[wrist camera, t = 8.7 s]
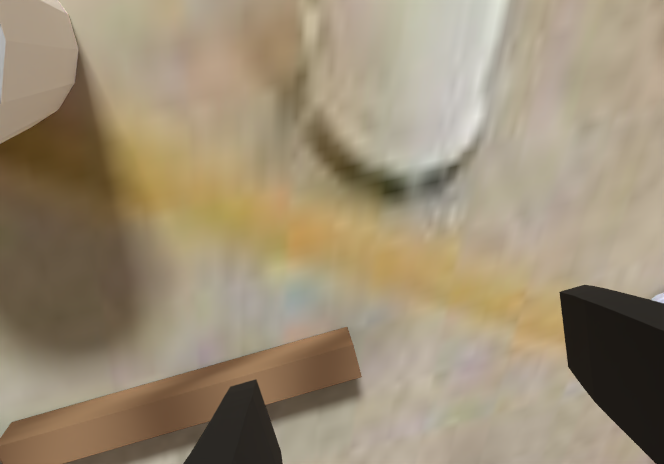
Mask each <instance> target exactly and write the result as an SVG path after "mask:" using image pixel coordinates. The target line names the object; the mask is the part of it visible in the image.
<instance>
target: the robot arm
mask: <svg viewBox="0 0 664 464" xmlns="http://www.w3.org/2000/svg"><path fill="white" fill-rule="evenodd" d="M560 300H561V308H562V317H563V326H564V334H565V343H566V351H567V360H568V367H569V369H570V370H571V371H572V373H573V374H574V375H575V377H576V378H577V379H578V381H579V382H580V384H581V385H582V386H583V388H584V389H585V390H586V391H587V393H588V394H589V395H590V396H591V398H592V399H593V400H594V402H595V403H596V404H597V405H598V406H599V407H600V408H601V409H602V410H603V411H604V412H605V413H606V414H607V415H608V416H609V417H610V418H611V419H612V420H613V421H614V422H615V423H616V424H617V425H618V426H619V427H620V428H621V429H622V430H623V431H624V432H625V433H626V434H627V435H628V436H629V437H630V438H631V439H632V440H633V441H634V442H635V443H636V444H637V445H638V446H639V447H640V448H641V449H642V450H643V451H644V452H645V453H646V454H647V455H648V456H649V457H650V458H651V459H652V460H653V461H654V462H655V463H656V464H664V293H661V294H658V295H656V296H654V297H653V298H652V299H651V300H649V299H645V298H641V297H637V296H633V295H629V294H625V293H621V292H617V291H613V290H609V289H605V288H600V287H595V286H589V285H582V286H579V287H575V288H572V289H568V290H565V291H561V292H560ZM184 464H283V463H282V456H281V450H280V447H279V444H278V441H277V438H276V435H275V433H274V430H273V427H272V424H271V421H270V418H269V415H268V412H267V409H266V406H265V403H264V400H263V397H262V394H261V391H260V388H259V385H258V382H257V379H255V380H252V381H248V382H245V383H241V384H238V385H234V386H231V387H230V388H229V389H228V391H227V393H226V394H225V396H224V398H223V399H222V401H221V403H220V405H219V406H218V408H217V410H216V412H215V413H214V415H213V417H212V419H211V420H210V422H209V424H208V425H207V427H206V429H205V431H204V432H203V434H202V435H201V437H200V439H199V440H198V442H197V444H196V445H195V447H194V449H193V450H192V452H191V453H190V455H189V456H188V458H187V459H186V461H185V462H184Z"/></svg>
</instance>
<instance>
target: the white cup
mask: <svg viewBox="0 0 664 464" xmlns="http://www.w3.org/2000/svg"><path fill="white" fill-rule="evenodd" d="M78 51H79V49H78V46H77V42H76V39H75V35H74V31H73V28H72V24H71V21H70V17H69V14H68V13H67V11H66V10H65V9H64V7H63V6H62V5H61V3H60V2H59V0H0V144H1V143H3V142H5V141H6V140H8V139H10V138H12V137H14V136H16V135H18V134H20V133H21V132H23V131H25V130H27V129H29V128H31V127H33V126H34V125H36V124H37V123H39V122H40V121H42V120H43V119H45V118H47V117H48V116H50V115H51V114H53V113H54V112H56V111H57V110H59V108H60V106H61V105H62V103H63V101H64V100H65V98H66V97H67V95H68V93H69V92H70V90H71V88H72V87H73V85H74V83H75V77H76V68H77V60H78Z"/></svg>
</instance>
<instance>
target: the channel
mask: <svg viewBox="0 0 664 464" xmlns="http://www.w3.org/2000/svg"><path fill="white" fill-rule="evenodd" d="M360 377H362V376H361V373H360V369H359V365H358V361H357V357H356V354H355V350H354V346H353V343H352V340H351V337H350V334H349V331H348V328H347V327H345V328H341V329H338V330H334V331H331V332H327V333H324V334H320V335H317V336H313V337H310V338H306V339H303V340H299V341H296V342H292V343H289V344H285V345H282V346H278V347H275V348H271V349H268V350H264V351H261V352H257V353H254V354H250V355H247V356H243V357H240V358H236V359H233V360H229V361H226V362H222V363H219V364H215V365H212V366H208V367H205V368H201V369H197V370H194V371H190V372H187V373H183V374H180V375H176V376H173V377H169V378H166V379H162V380H159V381H155V382H152V383H148V384H145V385H141V386H138V387H134V388H131V389H127V390H124V391H120V392H117V393H113V394H110V395H106V396H103V397H99V398H96V399H92V400H89V401H85V402H82V403H78V404H75V405H71V406H68V407H64V408H61V409H57V410H54V411H50V412H47V413H43V414H40V415H36V416H32V417H29V418H25V419H22V420H18V421H15V422H11V424H10V425H9V427H8V428H7V430H6V431H5V432H4V434H3V435H2V437H1V438H0V460H1V462H2V464H63V463H67V462H70V461H74V460H77V459H81V458H84V457H87V456H91V455H94V454H98V453H101V452H105V451H108V450H112V449H115V448H119V447H122V446H125V445H129V444H132V443H136V442H139V441H143V440H146V439H150V438H153V437H156V436H160V435H163V434H167V433H170V432H174V431H177V430H181V429H184V428H187V427H191V426H194V425H198V424H201V423H205V422H208V421H210V420H211V419H212V417H213V415H214V413H215V412H216V410H217V408H218V406H219V405H220V403H221V401H222V399H223V398H224V396H225V394H226V393H227V391H228V389H229V388H230V387H231V386H234V385H238V384H241V383H245V382H248V381H252V380H255V379H257V382H258V385H259V388H260V391H261V394H262V397H263V400H264V403H265V405H267V404H270V403H274V402H277V401H281V400H284V399H287V398H291V397H294V396H298V395H301V394H305V393H308V392H312V391H315V390H319V389H322V388H325V387H329V386H332V385H336V384H339V383H343V382H346V381H350V380H353V379H356V378H360Z"/></svg>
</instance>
